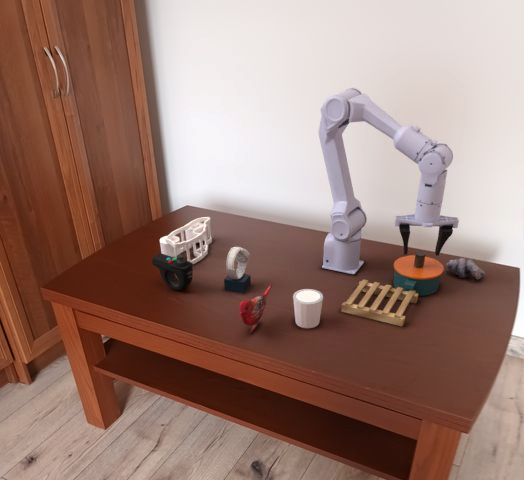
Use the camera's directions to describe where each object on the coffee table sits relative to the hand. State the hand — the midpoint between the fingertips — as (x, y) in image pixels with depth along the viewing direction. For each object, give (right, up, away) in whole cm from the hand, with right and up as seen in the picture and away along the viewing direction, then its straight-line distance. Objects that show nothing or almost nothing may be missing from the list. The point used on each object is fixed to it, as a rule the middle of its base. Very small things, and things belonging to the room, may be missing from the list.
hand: (421, 253), depth 131 cm
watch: (-46, -8, +7) cm, 47 cm away
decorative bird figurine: (-41, -18, -7) cm, 45 cm away
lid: (0, -3, +2) cm, 4 cm away
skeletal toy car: (-60, +4, +24) cm, 65 cm away
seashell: (+14, -5, +8) cm, 17 cm away
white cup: (-29, -18, -7) cm, 35 cm away
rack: (-11, -13, -3) cm, 17 cm away
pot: (0, -7, +5) cm, 9 cm away
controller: (-62, -8, +8) cm, 63 cm away
